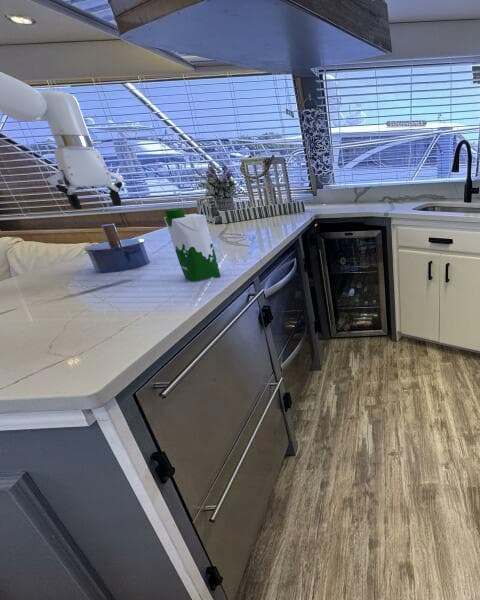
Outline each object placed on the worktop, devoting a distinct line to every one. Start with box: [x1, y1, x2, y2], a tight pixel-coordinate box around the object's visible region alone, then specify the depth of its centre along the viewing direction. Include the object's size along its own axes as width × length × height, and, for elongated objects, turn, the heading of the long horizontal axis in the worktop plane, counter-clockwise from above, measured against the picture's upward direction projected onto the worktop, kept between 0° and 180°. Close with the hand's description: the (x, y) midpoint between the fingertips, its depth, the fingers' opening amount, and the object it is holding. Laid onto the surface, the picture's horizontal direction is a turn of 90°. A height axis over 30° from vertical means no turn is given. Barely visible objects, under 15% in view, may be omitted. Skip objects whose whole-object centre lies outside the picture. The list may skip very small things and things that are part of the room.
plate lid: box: [84, 223, 145, 253], centre depth 100 cm, size 15×15×7 cm
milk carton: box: [163, 208, 221, 283], centre depth 91 cm, size 9×9×20 cm
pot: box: [87, 243, 151, 274], centre depth 103 cm, size 14×19×8 cm
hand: (98, 207), depth 96 cm, fingers open, 9 cm apart
